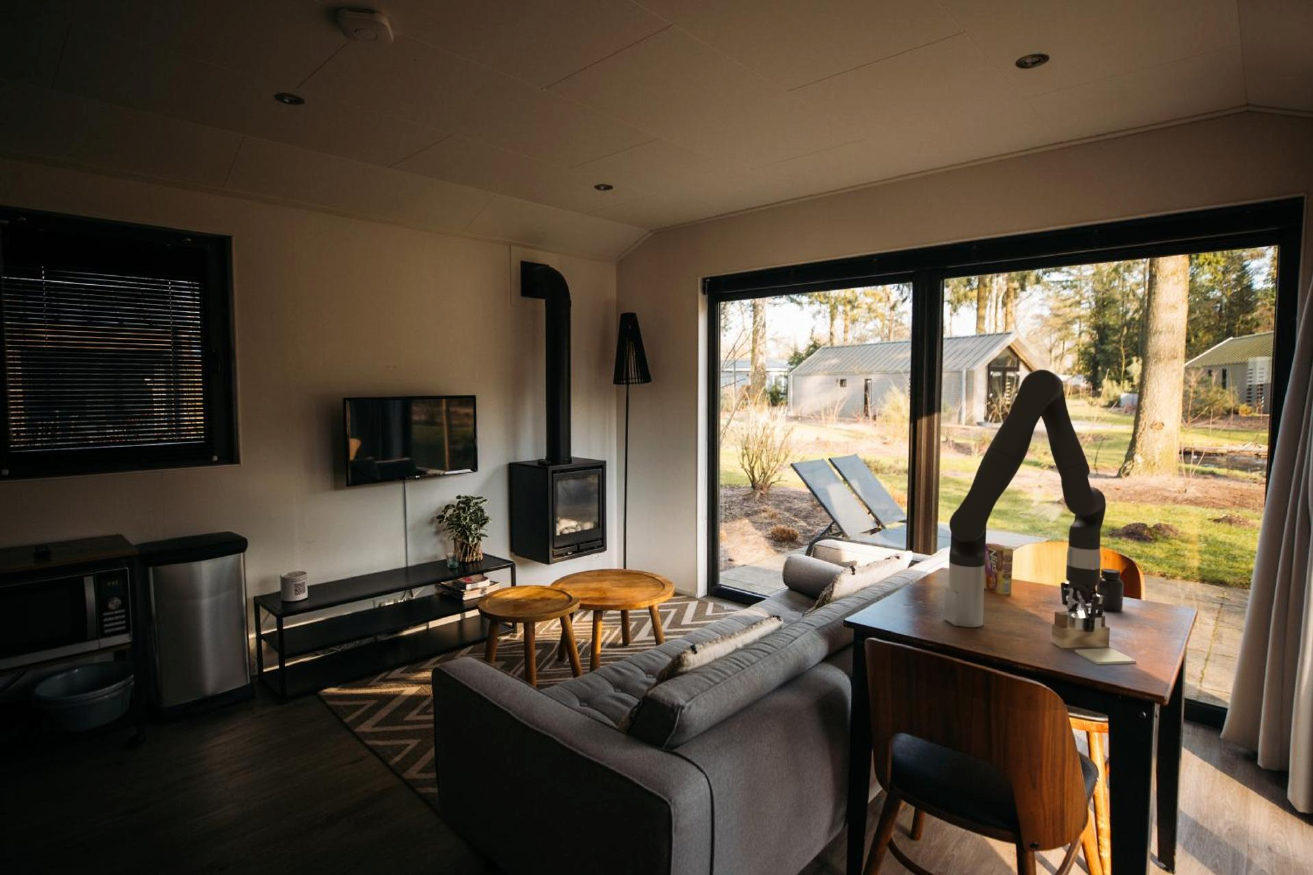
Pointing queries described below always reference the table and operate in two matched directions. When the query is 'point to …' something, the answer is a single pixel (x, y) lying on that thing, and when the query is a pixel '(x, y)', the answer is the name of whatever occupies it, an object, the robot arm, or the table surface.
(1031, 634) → the table surface
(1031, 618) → the table surface
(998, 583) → the candy box
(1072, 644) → the body
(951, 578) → the robot arm
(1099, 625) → the lever cap
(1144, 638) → the table surface
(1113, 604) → the supplement bottle
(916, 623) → the table surface
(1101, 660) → the mat
